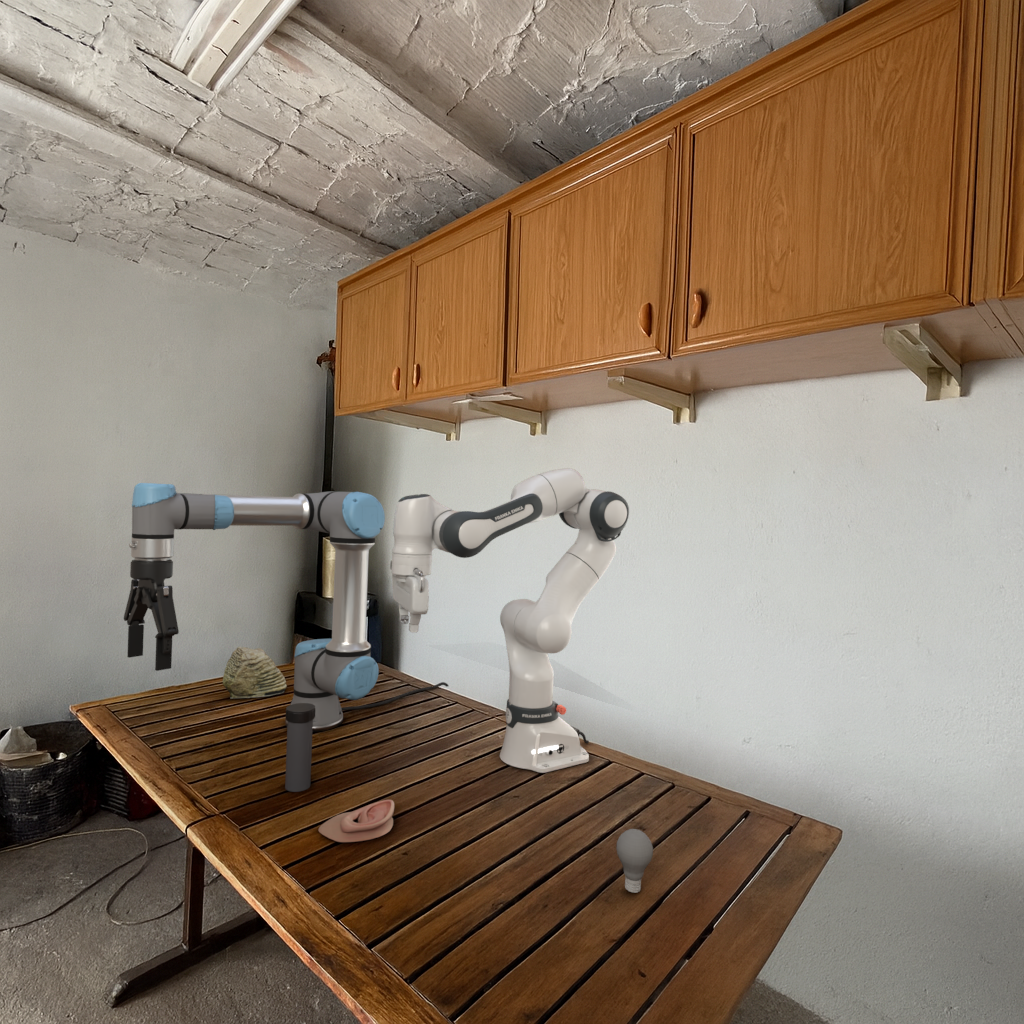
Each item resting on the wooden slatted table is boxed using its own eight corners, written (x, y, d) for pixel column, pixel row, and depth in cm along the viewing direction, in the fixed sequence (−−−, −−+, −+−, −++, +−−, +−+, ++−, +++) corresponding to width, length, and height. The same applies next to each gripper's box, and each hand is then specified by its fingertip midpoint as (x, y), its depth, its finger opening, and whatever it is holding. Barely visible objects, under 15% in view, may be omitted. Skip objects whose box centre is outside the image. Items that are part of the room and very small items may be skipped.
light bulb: (610, 879, 108) (613, 822, 108) (644, 879, 109) (647, 822, 109) (619, 902, 102) (622, 840, 102) (655, 901, 103) (658, 840, 103)
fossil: (218, 695, 195) (220, 647, 195) (278, 685, 208) (279, 640, 207) (228, 703, 189) (230, 653, 188) (289, 692, 201) (290, 645, 201)
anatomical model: (310, 816, 117) (339, 789, 129) (309, 837, 117) (338, 808, 129) (377, 827, 115) (401, 798, 126) (376, 848, 115) (400, 818, 126)
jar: (301, 778, 142) (304, 703, 141) (315, 786, 138) (318, 709, 138) (280, 786, 138) (283, 709, 137) (293, 794, 134) (296, 715, 134)
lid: (304, 711, 142) (305, 700, 142) (320, 718, 138) (321, 707, 138) (280, 717, 137) (280, 707, 137) (295, 725, 133) (296, 714, 133)
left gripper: (108, 554, 134) (104, 654, 134) (159, 565, 118) (155, 678, 119) (146, 552, 140) (143, 648, 140) (199, 563, 124) (195, 671, 124)
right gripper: (437, 571, 134) (434, 637, 134) (414, 561, 153) (412, 618, 153) (407, 571, 131) (404, 638, 131) (388, 561, 150) (386, 619, 150)
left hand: (148, 662), depth 129 cm, fingers open, 13 cm apart
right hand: (408, 627), depth 142 cm, fingers open, 8 cm apart
